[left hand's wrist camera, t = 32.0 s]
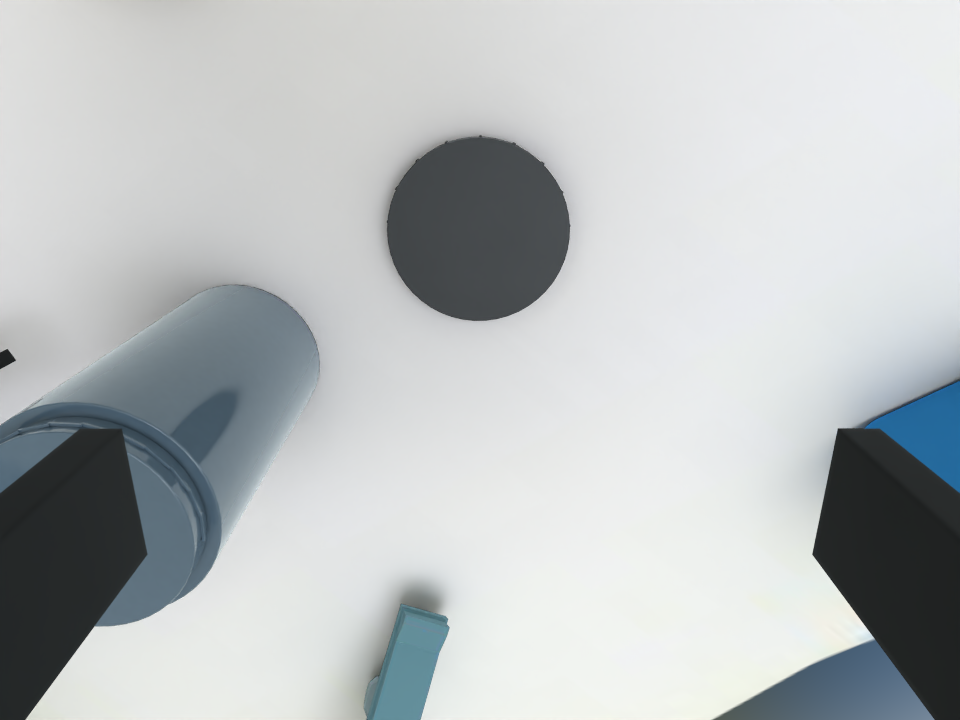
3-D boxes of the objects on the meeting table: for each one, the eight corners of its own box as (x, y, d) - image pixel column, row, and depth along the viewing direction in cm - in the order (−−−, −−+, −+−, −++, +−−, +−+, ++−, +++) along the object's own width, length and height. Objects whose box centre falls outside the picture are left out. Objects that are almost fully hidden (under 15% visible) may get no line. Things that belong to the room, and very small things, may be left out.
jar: (233, 252, 42) (43, 364, 23) (351, 362, 44) (261, 540, 26) (134, 355, 44) (-107, 530, 26) (252, 454, 46) (107, 677, 28)
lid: (503, 345, 44) (503, 354, 42) (357, 255, 42) (352, 260, 40) (602, 203, 40) (607, 207, 39) (450, 98, 38) (448, 97, 37)
